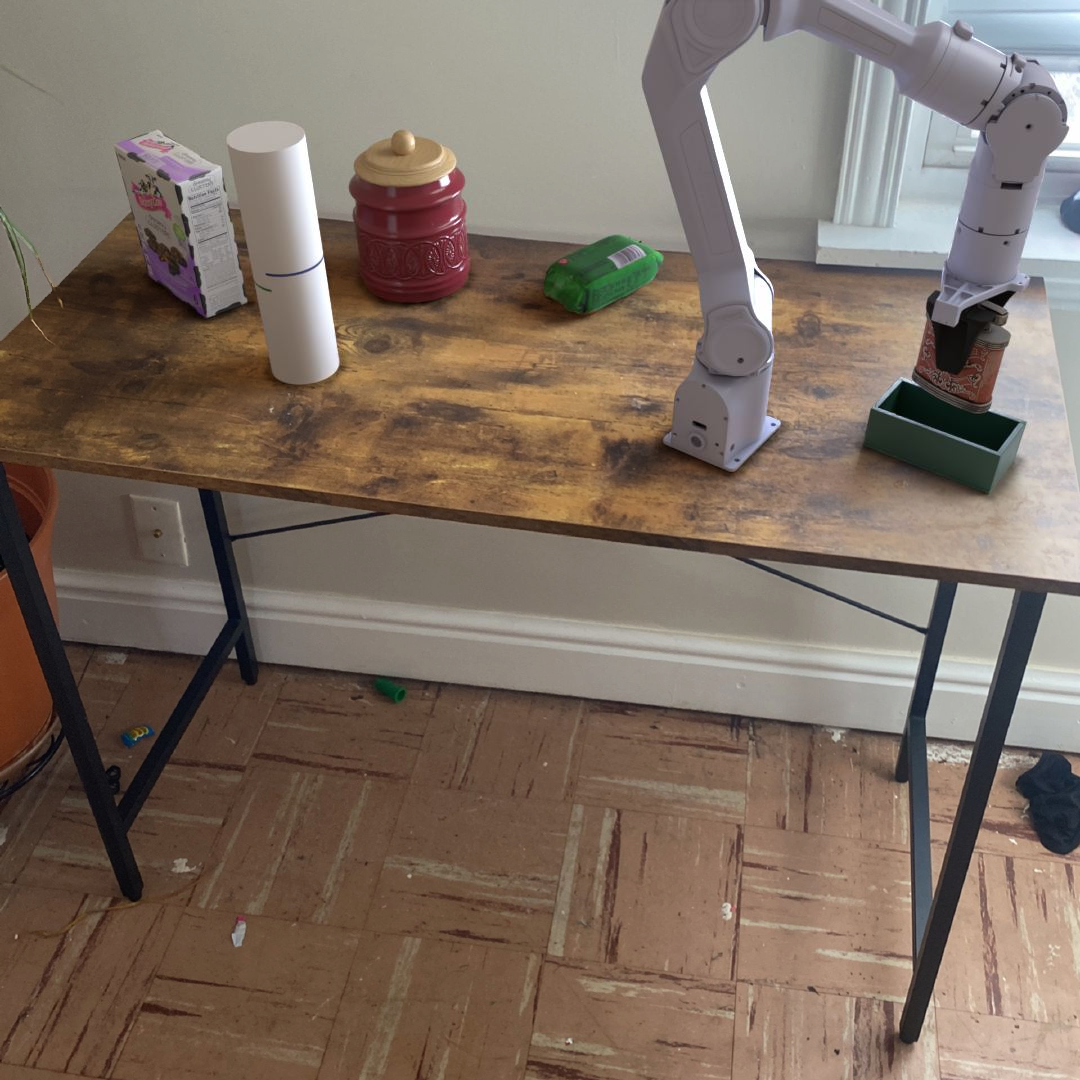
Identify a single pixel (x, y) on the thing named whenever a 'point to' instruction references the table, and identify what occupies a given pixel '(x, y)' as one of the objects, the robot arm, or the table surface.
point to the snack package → (601, 273)
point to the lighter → (966, 365)
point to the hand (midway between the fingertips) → (957, 359)
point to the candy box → (182, 222)
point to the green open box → (943, 436)
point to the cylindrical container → (285, 249)
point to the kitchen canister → (410, 219)
